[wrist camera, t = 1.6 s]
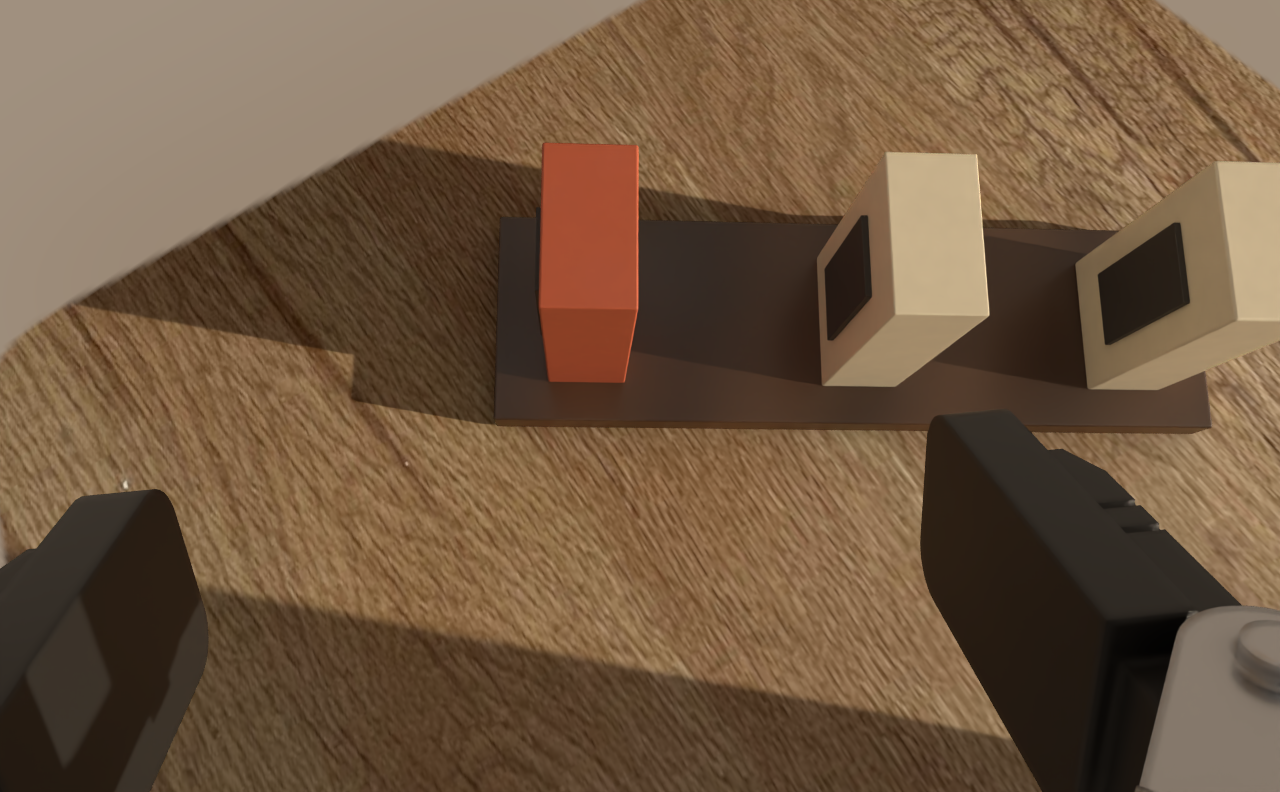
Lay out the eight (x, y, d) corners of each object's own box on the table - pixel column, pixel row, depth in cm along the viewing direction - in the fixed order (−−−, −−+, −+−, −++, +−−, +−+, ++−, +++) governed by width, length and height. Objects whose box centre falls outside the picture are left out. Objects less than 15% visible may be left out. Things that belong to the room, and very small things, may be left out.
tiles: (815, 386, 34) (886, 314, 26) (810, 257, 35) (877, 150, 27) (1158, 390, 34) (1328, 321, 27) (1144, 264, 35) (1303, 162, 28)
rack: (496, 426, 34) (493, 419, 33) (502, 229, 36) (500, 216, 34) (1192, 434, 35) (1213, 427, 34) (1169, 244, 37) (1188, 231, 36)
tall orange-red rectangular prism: (542, 382, 33) (530, 307, 25) (544, 251, 34) (534, 141, 26) (624, 383, 33) (638, 309, 26) (625, 253, 34) (638, 144, 27)
